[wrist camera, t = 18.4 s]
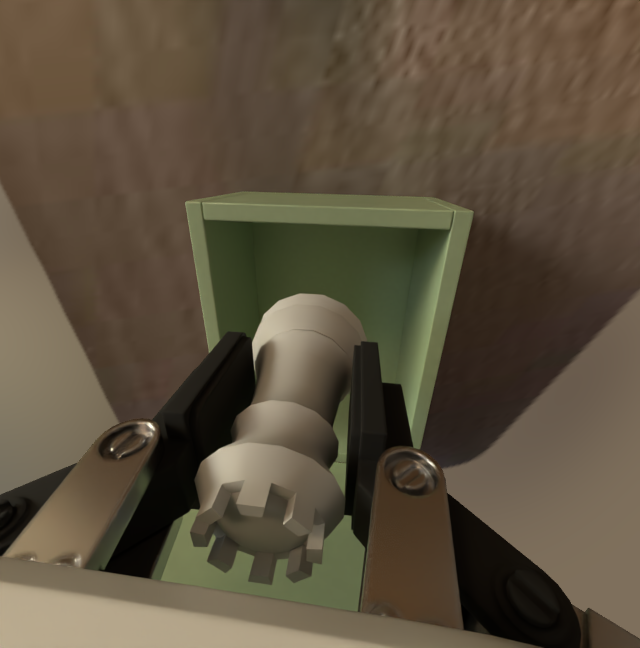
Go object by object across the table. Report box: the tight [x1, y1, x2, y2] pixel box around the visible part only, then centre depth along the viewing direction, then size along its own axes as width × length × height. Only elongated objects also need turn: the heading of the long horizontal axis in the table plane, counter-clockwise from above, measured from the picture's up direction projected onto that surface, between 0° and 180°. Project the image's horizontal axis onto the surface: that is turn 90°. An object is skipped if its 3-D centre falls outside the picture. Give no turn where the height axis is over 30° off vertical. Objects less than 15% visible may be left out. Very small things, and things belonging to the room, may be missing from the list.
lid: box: [160, 462, 365, 612], centre depth 12 cm, size 17×13×5 cm
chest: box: [185, 192, 474, 463], centre depth 20 cm, size 16×13×8 cm
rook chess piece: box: [190, 293, 367, 585], centre depth 9 cm, size 4×4×8 cm
